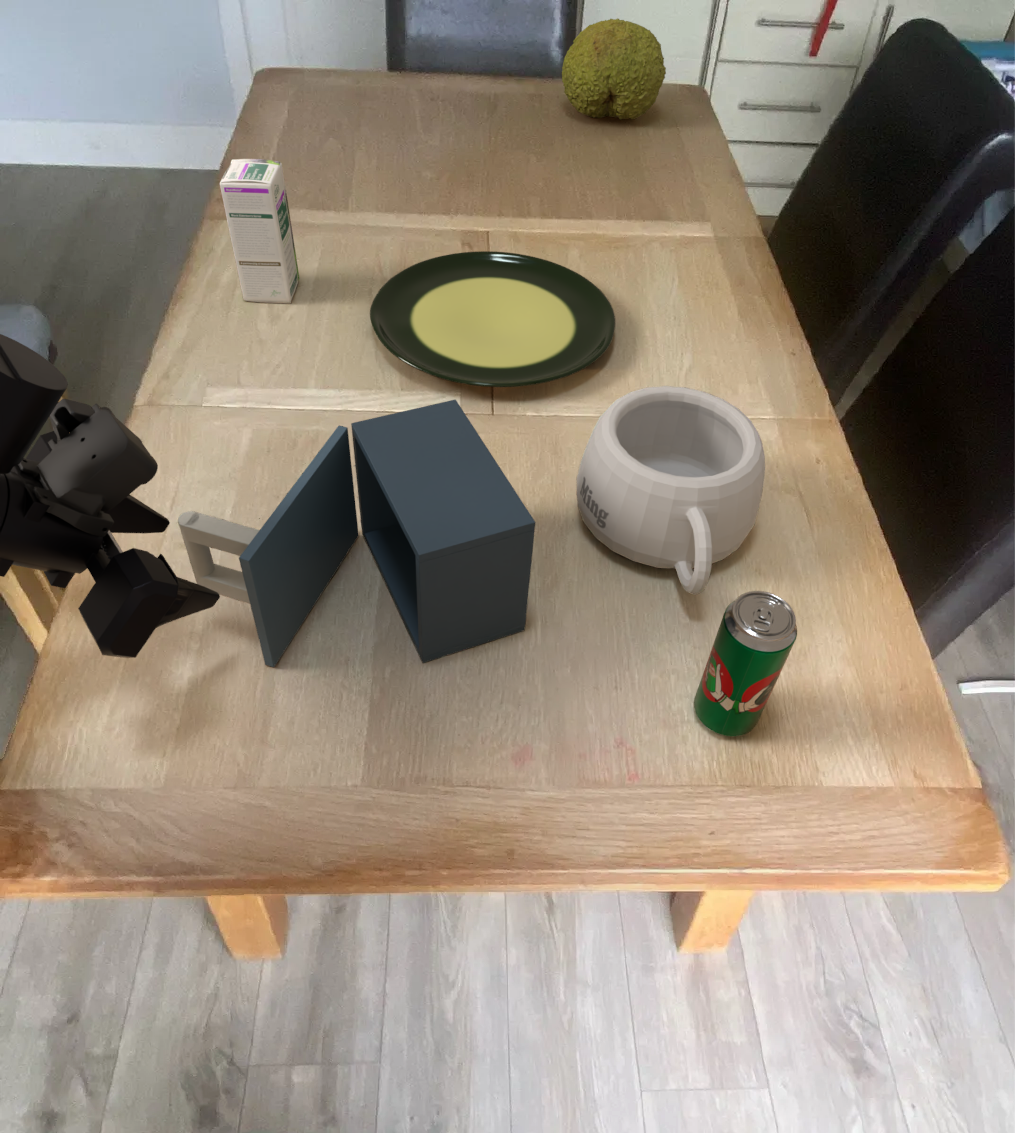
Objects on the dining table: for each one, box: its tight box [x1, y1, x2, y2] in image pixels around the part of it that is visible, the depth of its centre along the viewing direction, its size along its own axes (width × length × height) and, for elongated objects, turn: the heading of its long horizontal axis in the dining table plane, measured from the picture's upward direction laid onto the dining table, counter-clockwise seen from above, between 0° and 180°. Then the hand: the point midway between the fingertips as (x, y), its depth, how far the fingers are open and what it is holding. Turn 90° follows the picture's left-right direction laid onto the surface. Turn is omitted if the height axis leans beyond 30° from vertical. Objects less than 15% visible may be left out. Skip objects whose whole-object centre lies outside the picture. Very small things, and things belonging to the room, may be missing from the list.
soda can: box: [693, 590, 798, 737], centre depth 66 cm, size 5×5×12 cm
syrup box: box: [218, 158, 300, 304], centre depth 103 cm, size 6×6×14 cm
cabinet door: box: [177, 425, 360, 668], centre depth 72 cm, size 7×16×12 cm, turn 161°
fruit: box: [561, 17, 667, 121], centre depth 145 cm, size 16×14×15 cm
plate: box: [369, 250, 616, 388], centre depth 104 cm, size 28×28×2 cm
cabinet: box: [350, 399, 536, 664], centre depth 73 cm, size 9×16×13 cm, turn 24°
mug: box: [576, 385, 766, 595], centre depth 80 cm, size 21×17×10 cm
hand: (190, 561), depth 68 cm, fingers open, 9 cm apart
